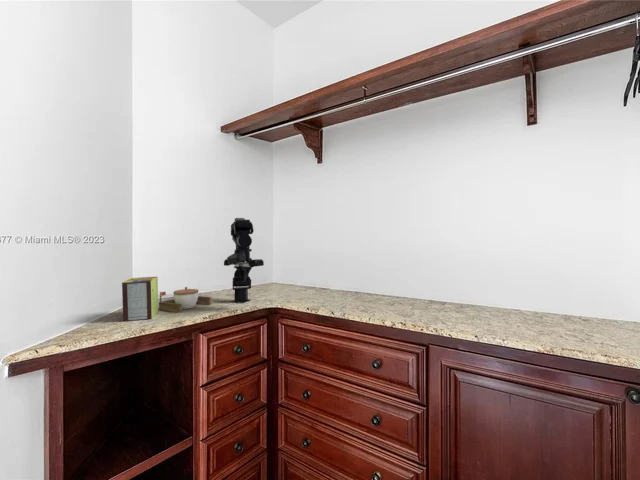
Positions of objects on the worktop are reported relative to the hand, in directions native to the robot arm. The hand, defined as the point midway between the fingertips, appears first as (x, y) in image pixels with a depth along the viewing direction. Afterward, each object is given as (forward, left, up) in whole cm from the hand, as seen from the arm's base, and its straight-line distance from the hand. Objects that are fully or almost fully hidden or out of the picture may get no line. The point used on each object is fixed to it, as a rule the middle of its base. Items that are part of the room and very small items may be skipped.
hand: (243, 281), depth 147 cm
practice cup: (+9, -27, -12) cm, 30 cm away
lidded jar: (+9, -27, -12) cm, 31 cm away
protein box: (+29, -30, -12) cm, 44 cm away
